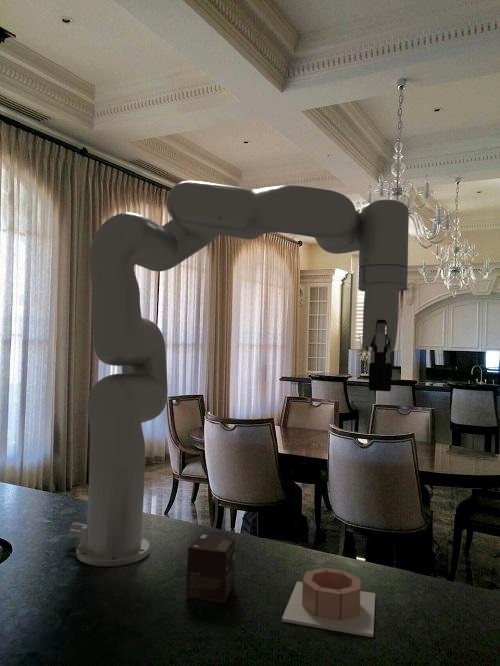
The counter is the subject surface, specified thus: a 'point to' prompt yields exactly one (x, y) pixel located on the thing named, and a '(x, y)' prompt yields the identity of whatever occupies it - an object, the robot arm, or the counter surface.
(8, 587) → the counter surface
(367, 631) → the placemat
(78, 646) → the counter surface
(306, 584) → the bowl
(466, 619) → the counter surface
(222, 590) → the box
